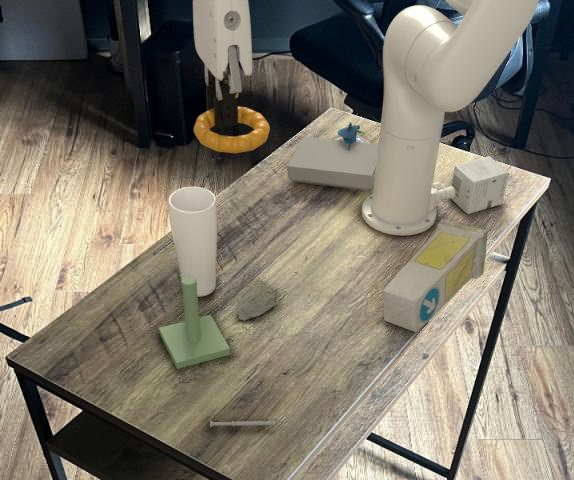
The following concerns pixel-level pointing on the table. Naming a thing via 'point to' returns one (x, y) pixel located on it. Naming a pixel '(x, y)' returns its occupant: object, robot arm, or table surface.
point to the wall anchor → (243, 423)
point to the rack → (193, 332)
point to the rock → (256, 302)
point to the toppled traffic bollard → (435, 274)
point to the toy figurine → (350, 134)
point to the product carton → (479, 184)
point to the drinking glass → (195, 235)
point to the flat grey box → (334, 163)
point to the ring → (229, 142)
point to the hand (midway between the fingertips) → (222, 119)
